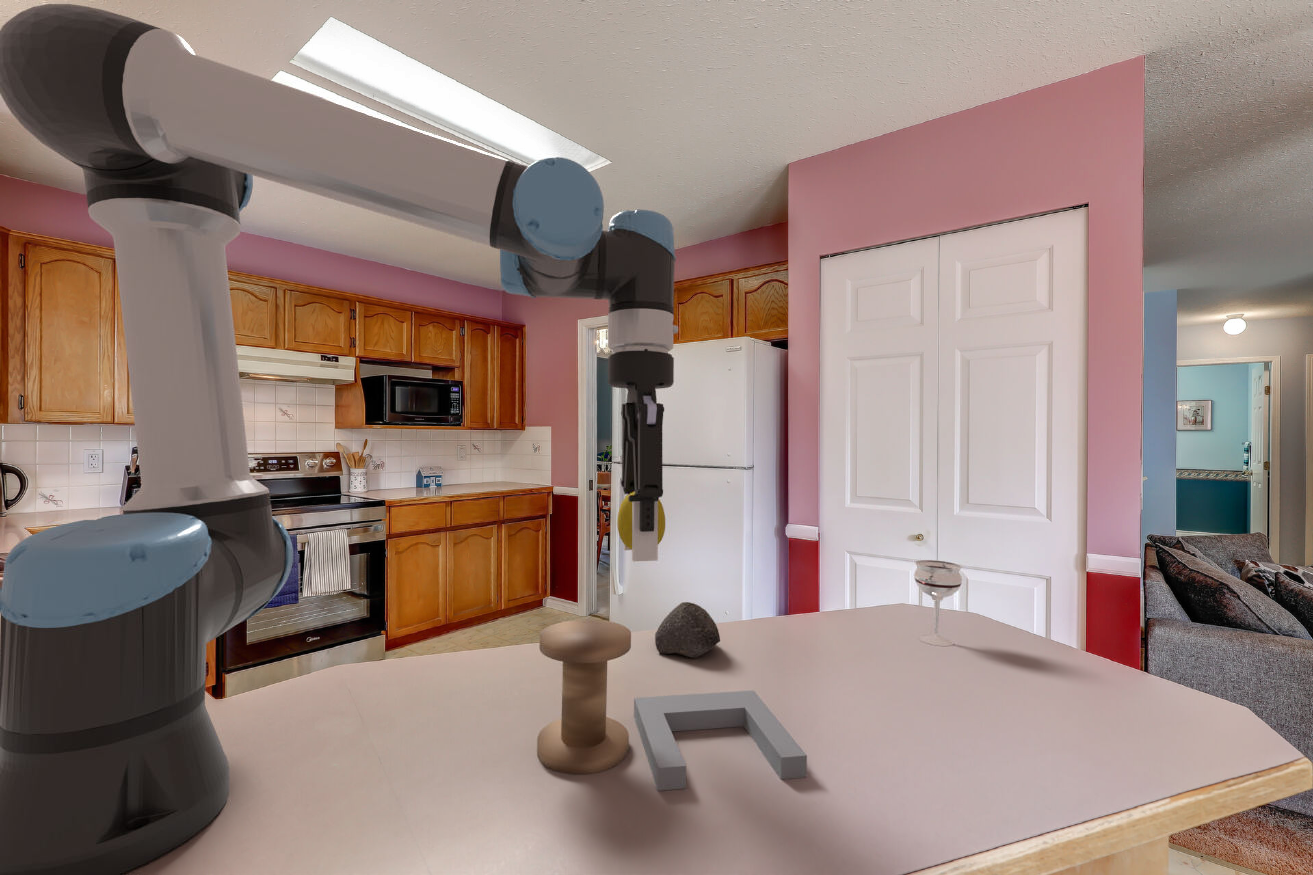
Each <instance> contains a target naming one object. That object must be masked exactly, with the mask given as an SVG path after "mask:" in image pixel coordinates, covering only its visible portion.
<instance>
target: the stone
mask: <svg viewBox="0 0 1313 875" xmlns="http://www.w3.org/2000/svg"><path fill="white" fill-rule="evenodd" d="M720 642H721V636H720V633H719V629H718V626H717V624H716V622H715V621H714V619H713V618H712V617H711V615H710V614H709V612H707V610H706V609H704V608H703V607H701V606H700V605H698V604H697V603H693V602H690V601H689V602H688V601H685V602H684V601H683V602H681V603H679V604H678V605H676V607H674V608H673V609H672V610H671V611H670V612H669V613H668V614H667V616H666V617H664V619H663V620H662V621H661V623H660V624H659V626H658V628H657V630H656V632H655V633H654V643H655V647H656V651H657V652H658V653H659V654H661V655H670V654H671V655H672V654H678V655H682V656H684V657H687V658H691V659H695V658H698V657H699V656H702V655H703V654H704V653H707V652H709V651H710V650H711V649H713V648H714V647H715V646H716V645H717V644H719V643H720Z"/></svg>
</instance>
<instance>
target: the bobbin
mask: <svg viewBox="0 0 1313 875" xmlns="http://www.w3.org/2000/svg"><path fill="white" fill-rule="evenodd" d="M538 648H539V650H540V651H539V652H540V653H541V654H542V655H544V656H545V657H547V658H549V659H551V660H555V661H557V662H562V678H561V680H562V682H561V684H562V685H561V718H558V719H556V720H554V721H552V722H550V723H549V724H547V725H545V726H544V727H542V729H541V730H539V733H538V734H537V737H536V738H537V740H536V741H537V742H536V743H537V744H536V754H537V755H536V756H537V758H538V759H539V762H540V763H541V764H543V765H544V766H545V767H547V768H549V769H551V770H553V771H556V772H560V773H563V774H569V775H590V774H596V773H600V772H601V773H602V772H604V771H606V770H609V769H611V768H613V767H615V766H617V765H619V764H620V763H621V762H622V761H624V759H625V758H626V757H627V755H628V753H629V749H630V748H629V746H630V744H629V742H630V741H629V740H630V735H629V731H628V729H627V728H626V726H624V725H623V724H622V723H621V722H619V721H617V720H616V719H614V718H611V717H607V702H608V701H607V699H608V698H607V693H608V691H607V690H608V688H607V687H608V662H609V661H611V660H615V659H618V658H620V657H623V656H624V655H626V654H627V653H629V651H630V650H631V648H632V632H631V631H630V629H629V628H628V627H627V626H625V625H623V624H620V623H617V622H614V621H610V620H602V619H573V620H567V621H566V620H565V621H561V622H557V623H554V624H552V625H548V626H547V627H544V629H542V630H540V634H539V647H538Z"/></svg>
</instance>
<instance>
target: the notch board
mask: <svg viewBox="0 0 1313 875" xmlns="http://www.w3.org/2000/svg"><path fill="white" fill-rule="evenodd" d="M633 717H634V721H635V724H636V727H637V731H638V733H639V737H640V739H641V743H642V745H643V749H644V751H645V755H646V758H647V761H648V765H649V767H650V771H651V774H652V776H653V780H654V783H655V788H656V790H657V791H659V792H660V791H669V790H680V789H681V790H682V789H686V787H687V786H686V784H687V783H686V781H687V780H686V779H687V778H686V777H687V776H686V775H687V765H686V762H685V760H684V758H683V756H682V753H681V751H680V749H679V746H678V743H677V742H676V738H675V737H674V735H673V733H672V732H682V731H684V732H685V731H693V730H694V731H696V730H706V729H707V730H709V729H711V730H712V729H720V728H721V729H722V728H734V727H735V728H736V727H744V728H745V730H746V731H747V732H748V734H749V735H750V736H751V737H752V739H753V741H754V742H755V744H756V745H757V747H758V748H759V750H760V751H761V752H762V754H763V755H764V757H765V758H766V760H767V761H768V763H769V765H770V766H771V767H772V768H773V770H774V771H775V773H776V774H777V776H778V778H779V779H780V780H790V779H797V778H798V779H799V778H807V773H808V772H807V769H808V768H807V766H808V765H807V764H808V755H807V754H806V752H805V751H804V750H803V749H802V748H801V747H800V744H798V743H797V742H796V740H795V739H794V737H792V736H791V734H790V733H789V732H788V730H786V728H785V727H784V726H783V725H782V723H781V722H780V720H779V719H778V718H777V717H776V716H775V714H773V712H772V711H771V709H770V708H769V707H768V706H767V705H766V704H765V702H764V701H763V700H762V698H761V697H760V696H759V695H758V694H757V693H756V691H755V690H739V691H738V690H737V691H724V692H722V691H721V692H709V693H708V692H705V693H704V692H703V693H693V694H676V695H675V694H674V695H658V696H643V697H642V696H641V697H634V700H633Z"/></svg>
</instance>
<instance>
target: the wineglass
mask: <svg viewBox="0 0 1313 875" xmlns="http://www.w3.org/2000/svg"><path fill="white" fill-rule="evenodd" d="M914 563H915V566H916V567H917V568H916V569H915V571H914V581H915V583H916V585H917V586H918V588H919V589H920V590H921V591H922V592H923V593H924V594H925V595H928V596H929V597H931V600H932V601H933V602H934V634H925V635H924V634H923V635H921V636H919V637H918V639H919V640H920V641H921V642H923V643H925V644H929V645H933V646H937V647H938V646H939V647H949V646H950V647H951V646H952V645H954V644H955V643H954V641H952V640H951V639H950V638H947V637H944V636H941V635H939V634H938V633H939V620H940V617H939V616H940V607H941V606H940V605H941V601H943V599H944V598H948V597H951V596H953V595H955V593H957V592H958V591H959V590H960V588H961V585H962V581H963V578H962V575H961V573H960V571H961V569H962V565H960V564H958V563H954V562H950V561H943V560H937V559H936V560H935V559H934V560H932V559H923V560H922V559H920V560H919V559H918V560H916V561H914Z"/></svg>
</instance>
